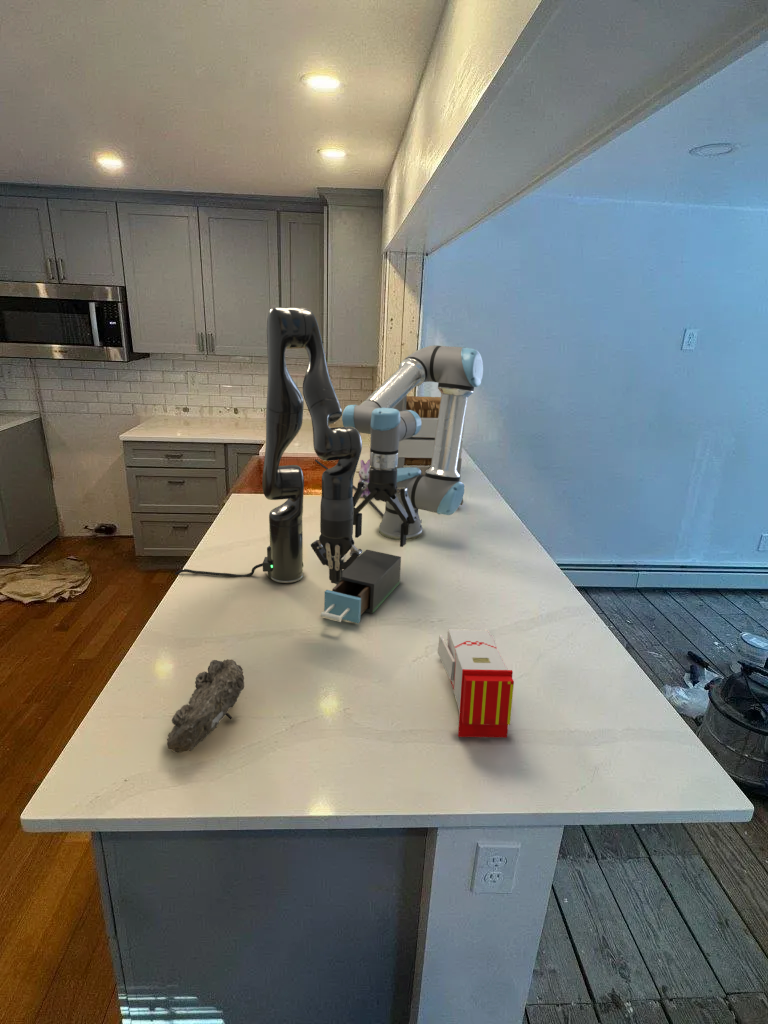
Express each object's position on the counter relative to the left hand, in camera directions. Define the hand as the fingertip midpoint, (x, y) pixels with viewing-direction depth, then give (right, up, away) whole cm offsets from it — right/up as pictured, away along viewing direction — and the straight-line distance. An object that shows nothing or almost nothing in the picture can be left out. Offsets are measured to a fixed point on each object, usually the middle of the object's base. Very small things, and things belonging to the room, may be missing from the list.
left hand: (335, 582), depth 135 cm
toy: (+29, -21, -17) cm, 40 cm away
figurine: (+4, +24, +105) cm, 108 cm away
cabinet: (+7, -6, +22) cm, 24 cm away
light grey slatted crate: (+29, +36, +140) cm, 147 cm away
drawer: (+3, -8, +12) cm, 15 cm away
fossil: (-21, -22, -27) cm, 41 cm away
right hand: (+10, +9, +23) cm, 27 cm away
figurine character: (+40, +20, +97) cm, 106 cm away
